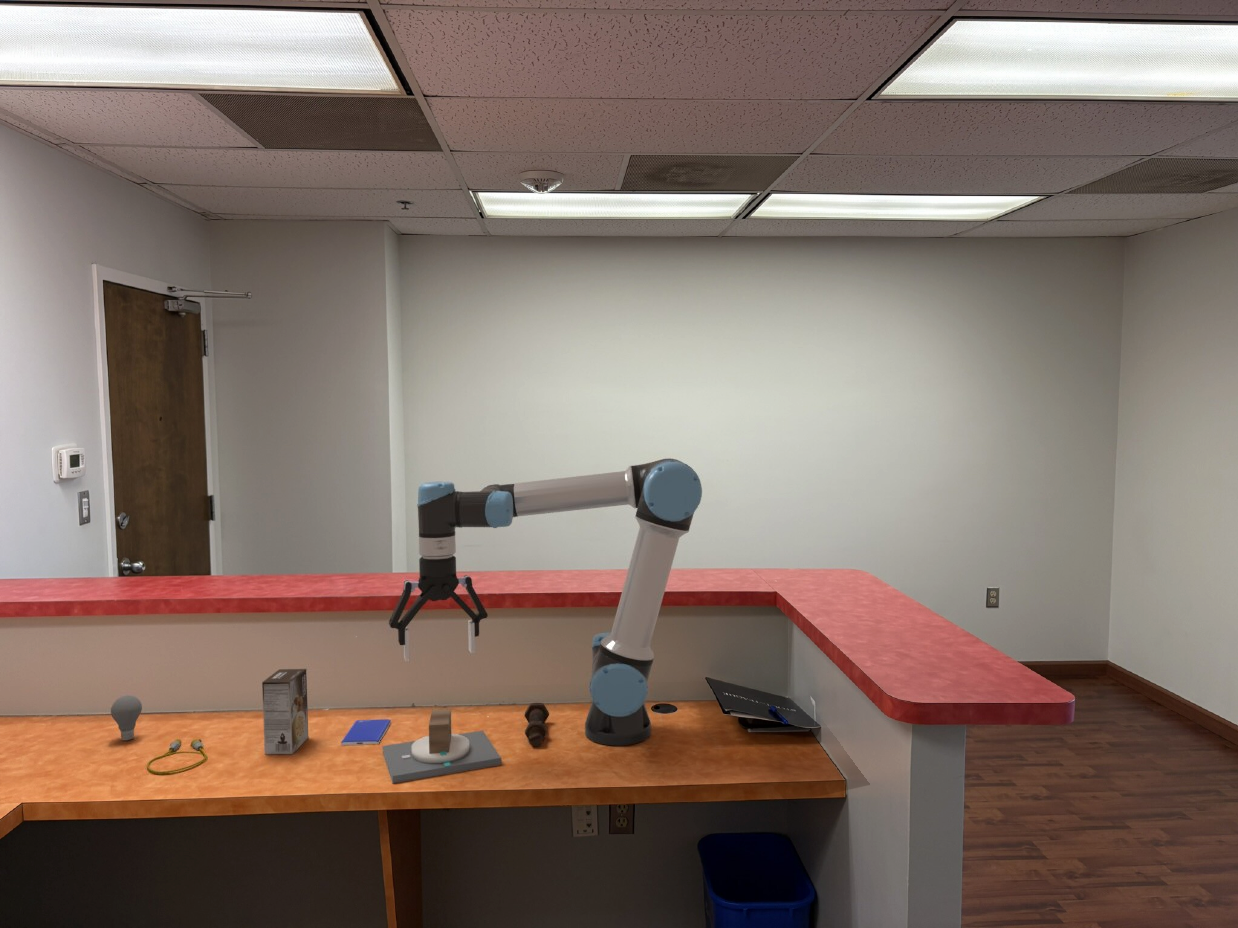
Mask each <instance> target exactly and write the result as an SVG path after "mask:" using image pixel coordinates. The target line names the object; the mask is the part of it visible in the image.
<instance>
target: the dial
mask: <svg viewBox="0 0 1238 928" xmlns="http://www.w3.org/2000/svg"><path fill="white" fill-rule="evenodd" d="M429 717H430V718H429V723H428V735H426V736H423V737H420V738H419V739H417V740H414V741H415V742H414V743H413V744H412V757H413V758H414V759H415V760H417V761H420V762H424V763H445V762H451V761H454V760H457V759H460V758H462V757H464V756H465V755H466V754H467V753H468V752H469V740H468V739H467V738H466V737H464V736H462V735H458V734H459V733H452V708H439V709H432V710H431V713H430V716H429Z"/></svg>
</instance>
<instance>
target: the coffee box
mask: <svg viewBox="0 0 1238 928" xmlns="http://www.w3.org/2000/svg"><path fill="white" fill-rule="evenodd" d="M307 679H308V678H307V668H287V669H286V668H285V669H283V668H282V669H278V670H277V671H275V672H274V673H272V674H271V675H270V676H269V677H267V678H266V679H265V680H263V681H262V682H261V684H262V685H261V687H262V711H263V712H262V713H263V714H262V715H263V716H262V717H263V738H264V739H263V741H264V755H293V754H294V753H296V751H297V750H298V749H299V748H300V747H301V746H302V745H303V744H304V743H305V741H307V740H308V739H309V716H308V715H309V710H308V708H309V707H308V685H307V684H308V683H307V682H308V681H307Z"/></svg>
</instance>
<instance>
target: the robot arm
mask: <svg viewBox="0 0 1238 928" xmlns="http://www.w3.org/2000/svg"><path fill="white" fill-rule="evenodd" d="M701 482H702V481H701V480H700V478H699V475H698V474H697V472H696V471H695V469H693V468H692V467H691V466H690V465H689V464H687V463H684V462H683V461H681V460H680V459H679V460H678V459H676V458H675V459H674V458H662V459H659V460H654V461H652V462H648V463H643V464H641V463H640V464H635V465H629V466H628V467H627V469H626V470H623V471H614V472H604V473H596V474H595V473H594V474H586V475H577V476H569V477H560V478H552V479H542V480H532V481H524V482H516V483H508V484H507V483H506V484H495V483H493V484H490V485H487V486H485V487H483V488H482V489H481V490H480V491H478V490H477V491H459V490H456V488H455V483H454V482H452V481H427V482H422V483H421V484H420V485H419V486H418V489H417V490H418V491H417V492H418V494H417V496H418V497H417V505H416V507H417V517H418V520H417V521H418V555H420V556H421V557H420V558H419V559H418V561H419V562H418V563H419V565H418V567H419V577H418V581H410V580H408V579H407V580H404V582H403V590H402V592H401V595H400V597H399V599H398V602H397V603H396V606H395V607H394V610H393V613H392V614H391V616H390V618H389V621H388V625H389V627H390V628H391V629H396V630H397V637H398V638H397V639H398V640H397V642H398V644H399V645H400V646H403V659H404V661H405V663H406V662H410V660H411V659H410V630H409V628H408V626H409V624H410V623H411V621H412V620H413V619H414V618H415V617H416V615H417V614H418V613H419V611H420V610H421V609H422V608H423V606H424V605H426V603H427V602H428V601H431V602H437V601H448V599H450V598H451V599H453V601H454V602H455V603H456V604H457V605H458V606H459V607H460V608H461V609H462V610H463V611H464V612H465V613H466V614H467V616H469V618H470V619H471V620H469V619H468V620H467V624H468V625H467V632H468V633H467V634H468V651H469V652H470V654H471V655H472V654H476V643H475V642H476V639H475V637H480V622H481V621H482V620H483V619H487V618H488V613H487V611H486V609H485V607H484V605H483V603H482V601H481V600H480V598H479V596H478V594H477V592H476V590H475V589H474V587H473V579H472V577H471V576H469V575H468V574H466V575H465V574H464V576H463V577H457V558H456V556H455V554H456V553H457V552H456V551H457V549H456V548H457V547H456V546H457V545H456V528H461V529H462V528H493V529H497V528H504V527H505V528H506V527H509V526H510V525H512V523H513V519H514V518H518V517H523V516H524V517H525V516H535V515H544V514H551V513H552V514H553V513H554V514H555V513H562V512H571V511H580V510H581V511H582V510H591V509H600V508H608V507H617V506H620V507H621V506H626V505H627V506H631V507H632V508H634V509H636V512H635V517H634V518H635V520H636V522H637V523H638V525H639V529H638V532H637V536H636V540H635V543H634V546H633V547H634V548H633V550H632V554H631V559H630V562H629V565H628V568H627V573H626V576H625V580H624V584H623V587H622V590H621V591H622V592H621V594H620V598H619V603H618V606H617V609H616V613H615V616H614V620H613V624H612V628H611V632H603V633H602V632H601V633H597V634H595V635H594V636H593V638H592V643H591V649H592V656H591V657H592V658H591V659H592V662H591V675H590V681H589V682H590V683H589V692H590V696H591V699H592V700H591V703H590V707H589V710H588V713H587V716H586V719H585V722H584V723H585V724H584V734H585V737H587V739H589V740H590V741H592V742H593V743H596V744H601V745H605V746H614V747H615V746H617V747H618V746H621V747H622V746H631V745H635V744H640V743H642V742H644V741H646V740H647V739H649V738H650V737H651V735H652V722H651V719H650V717H649V713H648V710H647V706H646V703H645V702H646V699H647V696H648V689H649V687H648V681H649V677H650V673H651V670H652V665H653V662H654V659H655V654H654V651H653V650H652V648H651V642H652V639H653V636H654V632H655V627H656V625H657V620H658V617H659V614H660V613H659V612H660V610H661V606H662V602H663V599H664V595H665V592H666V588H667V584H668V580H669V578H670V574H671V571H672V567H673V562H674V558H675V556H676V551H677V547H678V545H679V540H680V538H681V537H683V536H684V535H685V534H687V533H689V531H690V528H691V525H692V523H693V522H692V521H693V518H694V514H695V512H696V511H697V509H698V508H699V505H700V504H701V501H702V497H703V496H702V495H703V487H702V483H701ZM459 584H460V585H461V587H462V588H465V590H466V592H467V594H468V596H469V598H470V599H471V601H472V603H473V605H474V607H475V608H476V611H477V613H475V612H474V611H473V610H472V609H471V607H470V606H469V605H467V604H466V603H465V601H464V600H463V599H462V598H461V597H460V596H459V595H458V594H457V593H456V592H455V590H456V589H457V588H458V586H459ZM417 588H418V589H419V590H420V594H419V595H418V596H417V599H416V600H415V601H414V602H413V604H411V606H410V607H409V609H408V610H407V611H406V613H405V614H404V615H403V616H402V614H403V612H404V610H405V608H406V607H407V606H406V605H407V604H408V601H409V599H410V597H411V595H412V593H414V592H415V590H416V589H417ZM401 616H402V618H401Z"/></svg>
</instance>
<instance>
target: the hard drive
mask: <svg viewBox="0 0 1238 928" xmlns="http://www.w3.org/2000/svg"><path fill="white" fill-rule="evenodd" d="M391 720H392V719H389V718H388V719H385V718H384V719H356V720H355V722H354V723H353V724H352V726H351V727H350V729H349V730H348V731H347V733H346V734H345V735H344V737H343V739H341V742H340V746H368V745H367V744H378V745H380V743H379V742H381V741H382V740H383V738H384V735H385V734H386V732H387V730H388V729H389V727H390V726H389V725H391V724H392V723H391ZM382 737H383V738H382ZM380 740H381V741H380ZM365 744H366V745H365Z"/></svg>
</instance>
